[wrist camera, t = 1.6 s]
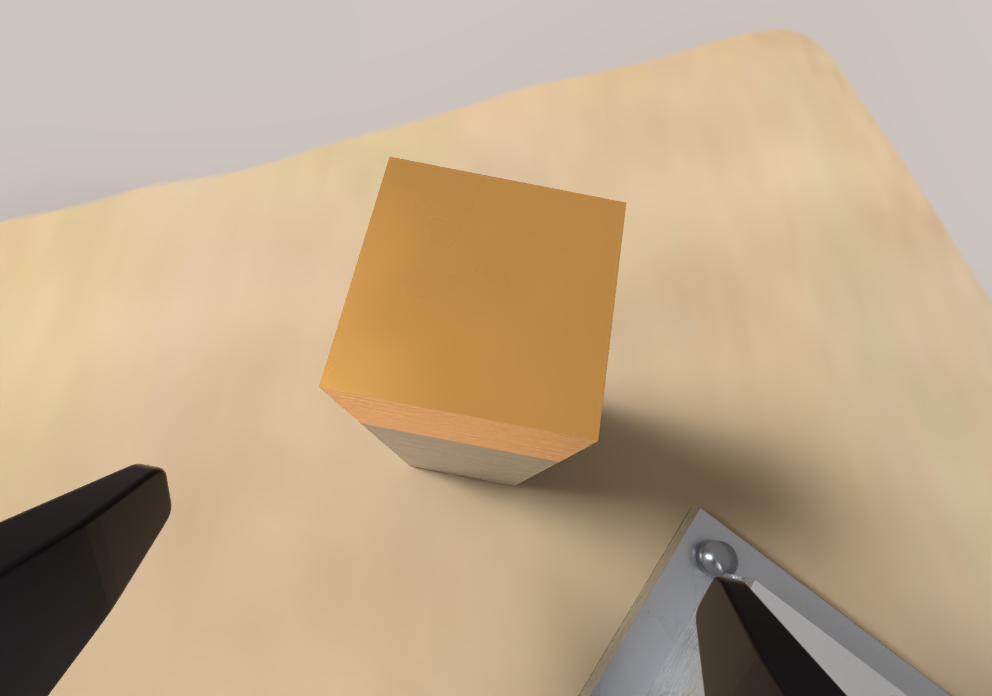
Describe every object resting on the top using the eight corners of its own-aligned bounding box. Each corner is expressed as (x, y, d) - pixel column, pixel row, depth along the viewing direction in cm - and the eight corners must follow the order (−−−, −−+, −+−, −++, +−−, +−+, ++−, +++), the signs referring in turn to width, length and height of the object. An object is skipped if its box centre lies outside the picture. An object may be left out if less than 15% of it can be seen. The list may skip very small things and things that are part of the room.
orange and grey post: (514, 486, 19) (598, 441, 7) (409, 465, 19) (319, 387, 7) (531, 384, 20) (626, 202, 8) (433, 365, 20) (389, 156, 8)
